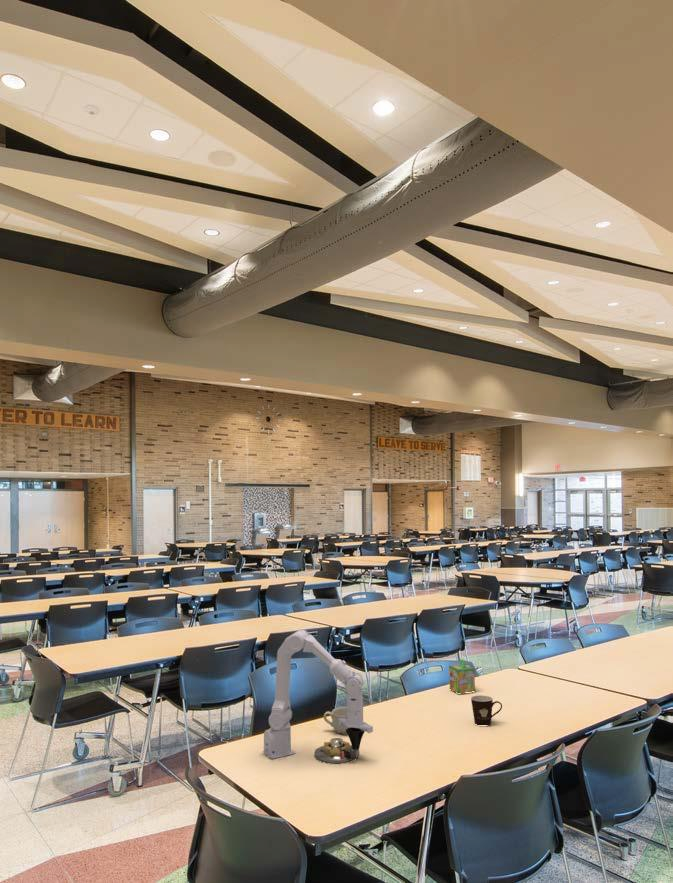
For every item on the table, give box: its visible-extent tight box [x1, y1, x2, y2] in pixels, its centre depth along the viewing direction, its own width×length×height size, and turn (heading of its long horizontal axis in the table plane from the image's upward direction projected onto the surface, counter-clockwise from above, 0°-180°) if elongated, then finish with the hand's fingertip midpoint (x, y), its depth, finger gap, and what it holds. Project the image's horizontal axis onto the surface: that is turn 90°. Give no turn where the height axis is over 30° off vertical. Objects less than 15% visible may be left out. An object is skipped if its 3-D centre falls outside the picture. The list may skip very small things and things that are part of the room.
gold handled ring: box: [322, 740, 356, 759], centre depth 230 cm, size 15×9×3 cm, turn 38°
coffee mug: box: [470, 694, 503, 726], centre depth 262 cm, size 12×9×10 cm
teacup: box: [323, 706, 348, 735], centre depth 257 cm, size 14×11×8 cm
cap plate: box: [314, 737, 360, 765], centre depth 232 cm, size 16×16×5 cm
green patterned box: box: [448, 658, 476, 693], centre depth 309 cm, size 9×9×15 cm
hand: (355, 749), depth 229 cm, fingers closed
